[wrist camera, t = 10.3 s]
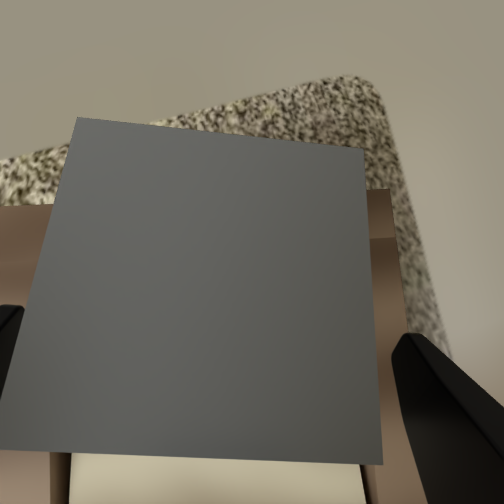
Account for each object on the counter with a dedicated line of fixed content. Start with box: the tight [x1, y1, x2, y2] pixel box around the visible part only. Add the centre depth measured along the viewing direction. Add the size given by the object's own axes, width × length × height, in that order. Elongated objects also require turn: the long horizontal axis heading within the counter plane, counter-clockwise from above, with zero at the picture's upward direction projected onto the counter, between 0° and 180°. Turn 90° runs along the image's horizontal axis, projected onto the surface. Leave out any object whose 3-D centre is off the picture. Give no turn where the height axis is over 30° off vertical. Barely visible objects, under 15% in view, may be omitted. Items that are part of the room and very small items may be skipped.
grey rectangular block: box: [0, 117, 384, 465], centre depth 12 cm, size 6×6×12 cm
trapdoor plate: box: [69, 453, 366, 504], centre depth 18 cm, size 13×13×1 cm
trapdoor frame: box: [0, 189, 428, 504], centre depth 19 cm, size 19×19×6 cm
